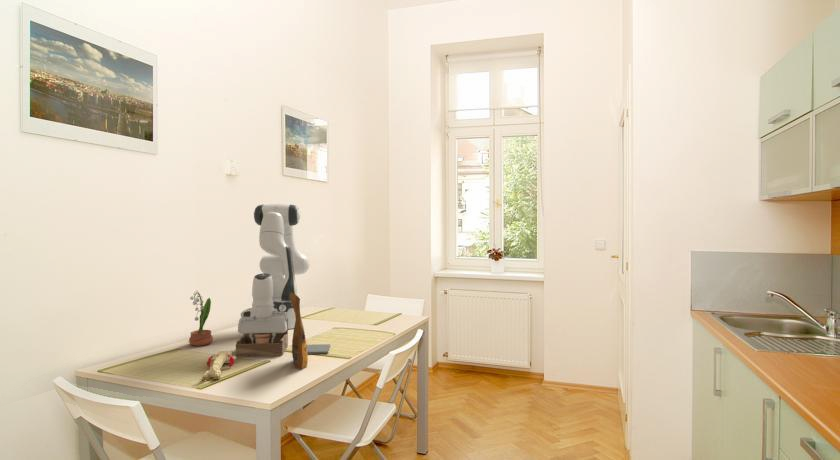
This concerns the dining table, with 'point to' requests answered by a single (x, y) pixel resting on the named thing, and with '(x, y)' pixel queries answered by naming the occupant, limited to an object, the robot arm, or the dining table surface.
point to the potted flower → (201, 323)
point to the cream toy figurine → (218, 364)
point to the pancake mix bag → (298, 336)
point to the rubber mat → (318, 348)
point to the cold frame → (262, 346)
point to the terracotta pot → (262, 338)
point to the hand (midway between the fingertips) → (262, 343)
